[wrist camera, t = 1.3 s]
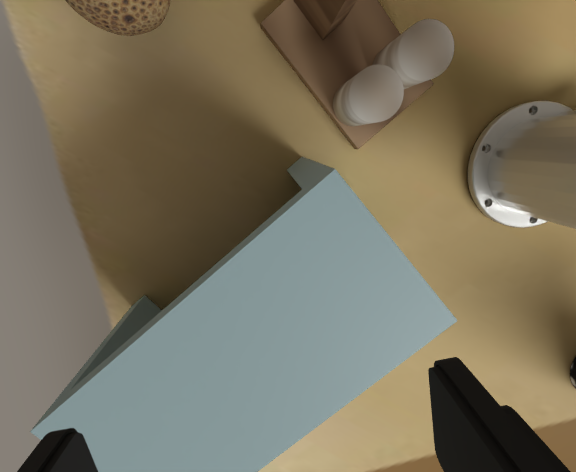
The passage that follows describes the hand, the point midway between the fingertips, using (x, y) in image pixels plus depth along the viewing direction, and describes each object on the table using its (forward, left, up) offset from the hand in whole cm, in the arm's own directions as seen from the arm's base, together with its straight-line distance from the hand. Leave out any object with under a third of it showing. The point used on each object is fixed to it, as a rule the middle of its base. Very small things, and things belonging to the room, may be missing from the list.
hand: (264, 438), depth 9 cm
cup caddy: (-16, -6, -28) cm, 33 cm away
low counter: (+5, +4, -28) cm, 29 cm away
